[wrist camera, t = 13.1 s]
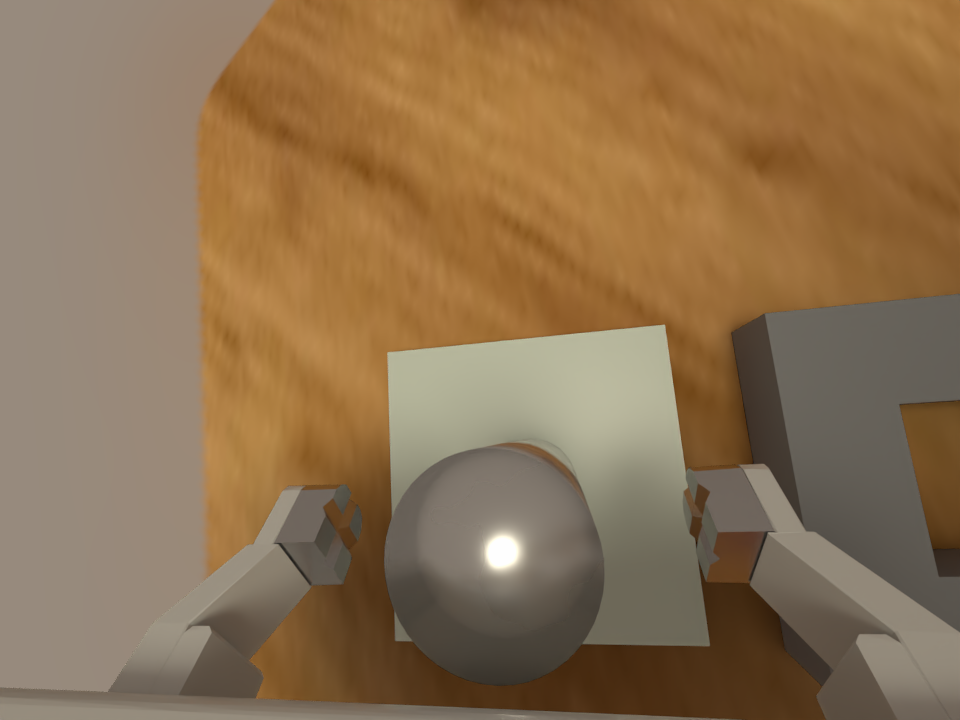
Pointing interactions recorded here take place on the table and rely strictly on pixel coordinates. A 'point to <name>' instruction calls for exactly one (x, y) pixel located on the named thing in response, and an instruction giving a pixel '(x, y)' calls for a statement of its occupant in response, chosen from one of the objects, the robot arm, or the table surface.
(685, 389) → the table surface
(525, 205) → the table surface
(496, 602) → the peg
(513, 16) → the table surface
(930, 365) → the square socket
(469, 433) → the pad
